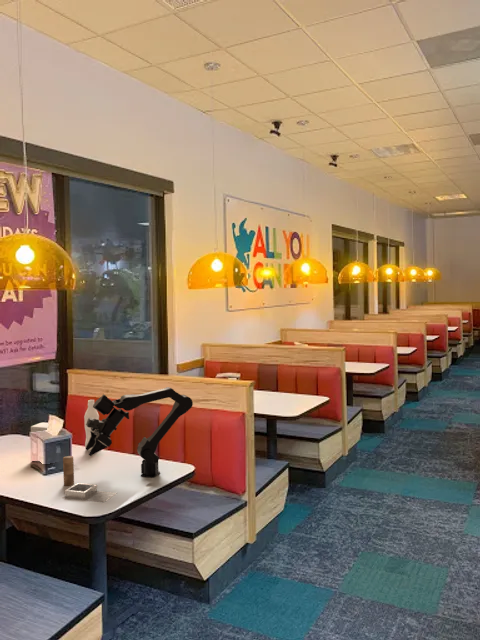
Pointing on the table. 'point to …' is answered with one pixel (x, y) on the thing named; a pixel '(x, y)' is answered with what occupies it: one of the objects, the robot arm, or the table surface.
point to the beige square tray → (87, 489)
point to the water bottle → (90, 413)
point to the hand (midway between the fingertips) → (87, 452)
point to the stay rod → (68, 470)
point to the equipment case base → (96, 496)
